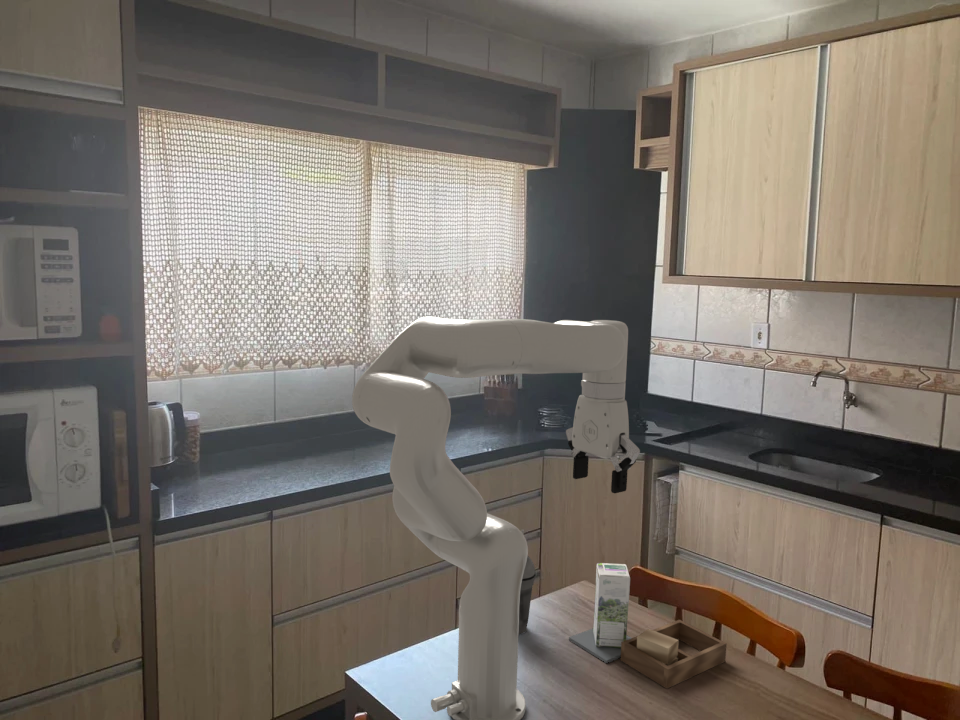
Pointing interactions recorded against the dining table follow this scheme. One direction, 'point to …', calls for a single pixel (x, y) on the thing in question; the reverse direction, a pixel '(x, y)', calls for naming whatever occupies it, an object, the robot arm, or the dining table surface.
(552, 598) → the dining table surface
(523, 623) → the beverage cup
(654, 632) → the offcut upper
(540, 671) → the dining table surface
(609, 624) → the syrup box
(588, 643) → the plate
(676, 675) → the divided wooden tray
